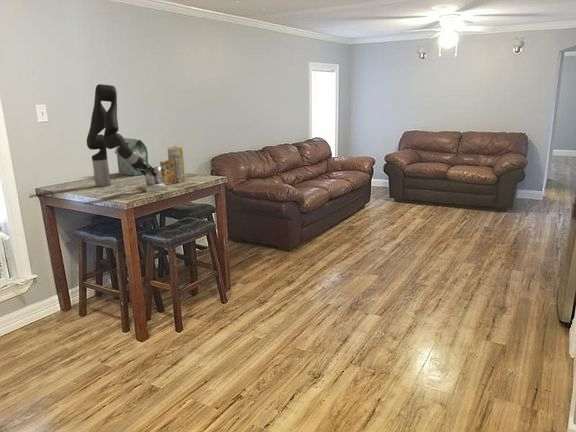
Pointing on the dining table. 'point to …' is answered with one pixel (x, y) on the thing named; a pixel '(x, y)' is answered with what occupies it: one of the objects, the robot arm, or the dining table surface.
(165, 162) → the candy box
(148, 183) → the spacer
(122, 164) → the lunch bag
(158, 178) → the spacer
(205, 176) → the dining table surface
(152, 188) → the grey l-shaped block
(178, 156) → the juice carton
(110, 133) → the robot arm
